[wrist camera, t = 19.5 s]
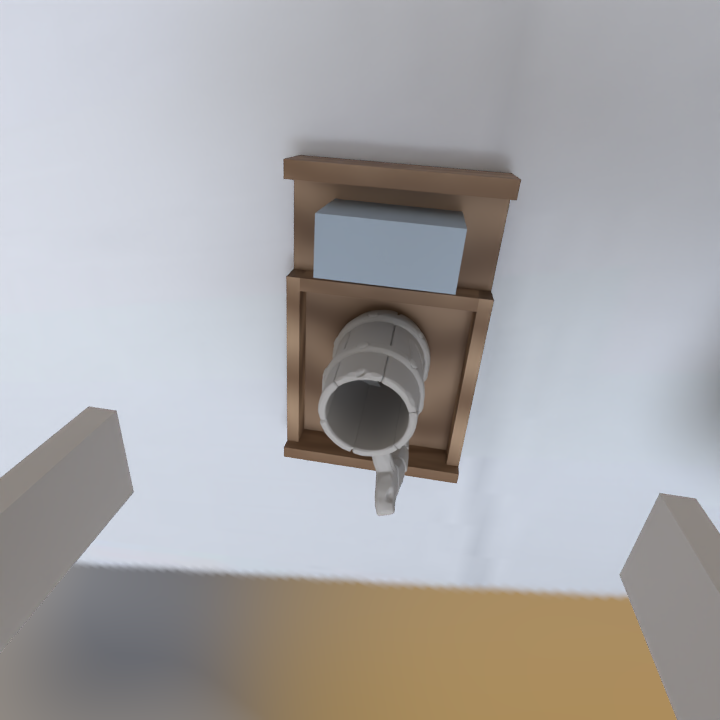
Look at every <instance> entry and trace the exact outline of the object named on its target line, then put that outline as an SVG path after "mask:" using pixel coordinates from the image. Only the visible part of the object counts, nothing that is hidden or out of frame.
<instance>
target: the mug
mask: <svg viewBox="0 0 720 720" xmlns="http://www.w3.org/2000/svg"><path fill="white" fill-rule="evenodd" d="M429 367H430V350H429V346H428V343H427V340H426V338H425V337H424V335H423V333H422V332H421V330H420V329H419V328H418V326H417V325H416V324H415V323H414V322H413V321H412V320H411V319H409V318H408V317H406V316H404V315H402V314H401V315H398V313H397V312H395V311H391V310H372V311H369V312H366V313H363V314H361V315H359V316H358V317H356V318H355V319H353V320H351V321H350V322H349V323H347V324H346V325H345V326H344V328H343V329H342V330H341V331H340V333H339V335H338V337H337V338H336V339H335V341H334V348H333V359H332V361H331V362H330V364H329V365H328V367H326V368H325V370H324V373H323V379H322V394H321V397H320V400H319V404H318V413H319V416H320V419H321V420H320V424H321V426H322V428H323V430H324V432H325V433H326V435H327V436H328V437H329V438H330V439H331V440H332V441H333V442H334V443H335V444H336V445H338V446H339V447H341V448H342V449H344V450H347V451H349V452H350V451H351V450H352V449H353V450H352V451H353V453H355V454H358V455H361V456H372V459H373V463H374V466H375V469H376V488H375V508H376V512H377V515H378V516H384V515H391V514H393V513H394V511H395V500H396V496H397V494H398V492H399V489H400V486H401V484H402V482H403V478H404V475H405V472H406V471H407V468H408V459H409V457H408V455H409V451H408V450H409V439H410V438H411V437H412V435H413V433H414V431H415V429H416V425H417V419H418V415H419V414H420V413H421V412H422V409H423V406H424V397H425V386H424V382H425V381H426V379H427V377H428V372H429Z"/></svg>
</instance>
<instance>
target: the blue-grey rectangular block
mask: <svg viewBox="0 0 720 720" xmlns="http://www.w3.org/2000/svg"><path fill="white" fill-rule="evenodd" d="M466 232H467V227H466V223H465V219H464V215H463V212H462V211H452V210H443V209H433V208H423V207H413V206H403V205H393V204H383V203H374V202H364V201H354V200H344V199H334V200H332V201H331V202H330V203H328V204H327V205H326V206H324V207H323V208H321V209H320V210H319V211H317V212H316V213H315V235H314V271H313V278H320V279H328V280H337V281H345V282H354V283H362V284H370V285H379V286H387V287H395V288H404V289H412V290H420V291H429V292H437V293H446V294H454V295H455V294H456V289H457V283H458V277H459V272H460V266H461V260H462V255H463V249H464V244H465V238H466Z"/></svg>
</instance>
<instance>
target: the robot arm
mask: <svg viewBox="0 0 720 720" xmlns="http://www.w3.org/2000/svg"><path fill="white" fill-rule="evenodd" d="M133 492H134V491H133V486H132V482H131V477H130V472H129V467H128V463H127V458H126V453H125V448H124V444H123V439H122V434H121V429H120V425H119V420H118V415H117V411H115V410H108V409H102V408H95V407H87V408H86V409H85V410H84V411H83V412H81V413H80V414H79V415H78V416H76V417H75V418H74V419H73V420H71V421H70V422H69V423H68V424H66V425H65V426H64V427H63V428H61V429H60V430H59V431H58V432H57V433H55V434H54V435H53V436H52V437H50V438H49V439H48V440H47V441H45V442H44V443H43V444H42V445H40V446H39V447H38V448H37V449H36V450H34V451H33V452H32V453H31V454H29V455H28V456H27V457H26V458H24V459H23V460H22V461H21V462H19V463H18V464H17V465H16V466H15V467H13V468H12V469H11V470H10V471H8V472H7V473H6V474H5V475H3V476H2V477H1V478H0V653H1V652H2V651H3V649H4V648H5V647H6V646H7V645H8V643H9V642H10V641H11V640H12V639H13V637H14V636H15V635H16V634H17V633H18V631H19V630H20V629H21V628H22V626H23V625H24V624H25V623H26V622H27V620H28V619H29V618H30V617H31V616H32V614H33V613H34V612H35V611H36V610H37V608H38V607H39V606H40V605H41V603H42V602H43V601H44V600H45V599H46V597H47V596H48V595H49V594H50V593H51V591H52V590H53V589H54V588H55V587H56V585H57V584H58V583H59V581H61V579H62V578H63V577H64V576H65V575H66V573H67V572H68V571H69V570H70V569H71V567H72V566H73V565H74V564H75V562H76V561H77V560H78V559H79V558H80V556H81V555H82V554H83V553H84V552H85V550H86V549H87V548H88V547H89V546H90V544H91V543H92V542H93V541H94V540H95V538H96V537H97V536H98V535H99V533H100V532H101V531H102V530H103V529H104V527H105V526H106V525H107V524H108V523H109V521H110V520H111V519H112V518H113V517H114V515H115V514H116V513H117V512H118V511H119V509H120V508H121V507H122V506H123V504H124V503H125V502H126V501H127V500H128V498H129V497H130V496H131V495H132V494H133ZM620 577H621V580H622V582H623V585H624V587H625V590H626V592H627V595H628V597H629V600H630V602H631V605H632V607H633V610H634V612H635V615H636V617H637V620H638V622H639V625H640V627H641V630H642V632H643V635H644V637H645V640H646V643H647V645H648V648H649V650H650V652H651V655H652V658H653V660H654V663H655V665H656V668H657V670H658V672H659V675H660V678H661V680H662V683H663V685H664V688H665V690H666V693H667V695H668V698H669V700H670V703H671V705H672V708H673V710H674V713H675V715H676V718H677V720H720V533H719V532H718V530H717V529H716V527H715V526H714V525H713V523H712V522H711V520H710V519H709V517H708V516H707V514H706V513H705V511H704V510H703V508H702V507H701V505H700V504H699V502H698V501H697V500H696V499H695V498H689V497H682V496H676V495H669V494H662V493H660V494H659V496H658V498H657V500H656V502H655V504H654V506H653V508H652V510H651V512H650V514H649V516H648V518H647V520H646V522H645V524H644V526H643V528H642V530H641V532H640V534H639V536H638V538H637V541H636V543H635V545H634V547H633V549H632V551H631V553H630V555H629V557H628V559H627V561H626V563H625V565H624V567H623V569H622V571H621V573H620Z"/></svg>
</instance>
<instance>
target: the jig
mask: <svg viewBox="0 0 720 720" xmlns="http://www.w3.org/2000/svg"><path fill="white" fill-rule="evenodd" d="M284 179H292V180H294V269H293V270H292V271H291V272H290V273H289V274H288V275H287V276H286V281H287V442H286V444H285V446H284V456H285V457H291V458H297V459H304V460H310V461H317V462H323V463H329V464H336V465H342V466H349V467H355V468H361V469H368V470H374V471H376V469H375V466H374V463H373V459H372V456H361V455H358V454H355V453H353V451H352V450H353V449H352V450H351V451H350V452H349V451H347V450H344V449H342V448H341V447H339V446H338V445H336V444H335V443H334V442H333V441H332V440H331V439H330V438H329V437H328V436H327V435H326V433H325V432H324V430H323V428H322V426H321V424H320V420H321V419H320V416H319V413H318V404H319V400H320V397H321V394H322V379H323V373H324V370H325V368H326V367H328V365H329V364H330V362H331V361H332V359H333V348H334V341H335V339H336V338H337V337H338V335H339V333H340V331H341V330H342V329H343V328H344V326H345V325H346V324H347V323H349V322H350V321H351V320H353V319H355V318H356V317H358V316H359V315H361V314H363V313H366V312H369V311H372V310H391V311H395V312H397V313H398V315H401V314H402V315H404V316H406V317H408V318H409V319H411V320H412V321H413V322H414V323H415V324H416V325H417V326H418V328H419V329H420V330H421V332H422V333H423V335H424V337H425V338H426V340H427V343H428V346H429V350H430V367H429V372H428V377H427V379H426V381H425V382H424V386H425V397H424V406H423V409H422V412H421V413H420V414H419V415H418V419H417V425H416V429H415V431H414V433H413V435H412V437H411V438H410V439H409V450H408V451H409V455H408V457H409V459H408V468H407V471H406V472H405V475H406V476H413V477H419V478H425V479H432V480H438V481H445V482H451V483H457V480H458V475H459V470H458V465H459V461H460V456H461V451H462V447H463V442H464V437H465V433H466V428H467V423H468V419H469V414H470V409H471V405H472V400H473V395H474V391H475V386H476V381H477V377H478V372H479V367H480V363H481V358H482V353H483V349H484V344H485V339H486V335H487V330H488V325H489V321H490V316H491V311H492V307H493V302H494V299H493V296H492V293H491V289H492V284H493V280H494V275H495V270H496V265H497V260H498V256H499V251H500V246H501V241H502V237H503V232H504V227H505V222H506V217H507V213H508V208H509V203H510V200H517V196H518V192H519V187H520V183H521V179H519V178H518V177H516V176H515V175H514V174H512V173H500V172H489V171H477V170H466V169H454V168H443V167H431V166H420V165H408V164H397V163H385V162H374V161H362V160H351V159H339V158H328V157H316V156H305V155H298V156H294V157H290V158H285V159H284ZM334 199H344V200H354V201H364V202H374V203H383V204H393V205H403V206H413V207H423V208H433V209H443V210H452V211H462V212H463V215H464V219H465V223H466V227H467V232H466V238H465V244H464V249H463V255H462V260H461V266H460V272H459V277H458V283H457V289H456V294H455V295H454V294H446V293H437V292H429V291H420V290H412V289H404V288H395V287H387V286H379V285H370V284H362V283H354V282H345V281H337V280H328V279H320V278H313V271H314V235H315V213H316V212H317V211H319V210H320V209H321V208H323V207H324V206H326V205H327V204H328V203H330V202H331V201H332V200H334Z"/></svg>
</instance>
